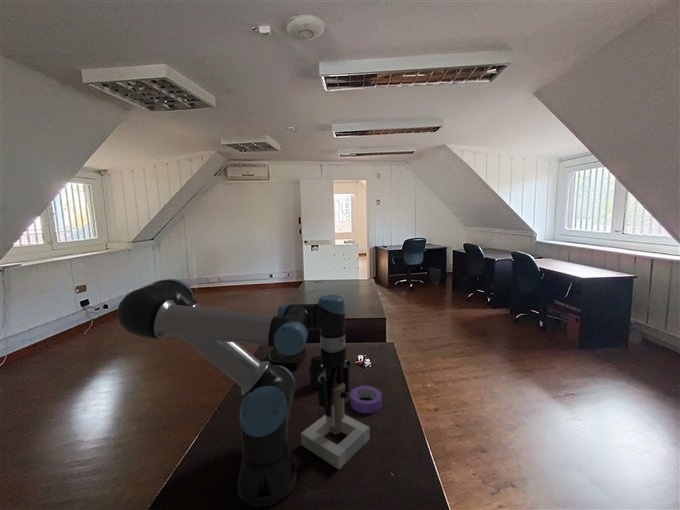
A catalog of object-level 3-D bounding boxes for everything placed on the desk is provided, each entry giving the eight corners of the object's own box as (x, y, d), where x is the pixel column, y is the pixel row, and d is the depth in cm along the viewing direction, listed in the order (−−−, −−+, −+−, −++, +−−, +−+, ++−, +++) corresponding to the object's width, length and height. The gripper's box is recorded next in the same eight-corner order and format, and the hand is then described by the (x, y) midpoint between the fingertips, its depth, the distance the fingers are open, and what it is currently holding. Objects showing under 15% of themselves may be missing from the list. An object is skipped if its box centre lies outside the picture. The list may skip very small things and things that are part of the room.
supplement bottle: (319, 391, 122) (318, 363, 121) (305, 387, 126) (304, 359, 125) (328, 383, 128) (328, 356, 127) (315, 379, 132) (314, 352, 130)
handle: (345, 437, 91) (344, 390, 90) (324, 436, 92) (322, 389, 90) (347, 426, 96) (345, 381, 94) (327, 425, 97) (325, 380, 95)
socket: (339, 469, 84) (338, 456, 84) (301, 445, 94) (300, 433, 93) (369, 438, 96) (369, 426, 95) (333, 419, 105) (333, 408, 105)
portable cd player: (273, 354, 159) (273, 346, 158) (305, 355, 156) (305, 348, 156) (261, 369, 143) (260, 361, 142) (296, 371, 140) (296, 363, 140)
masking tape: (388, 403, 114) (387, 393, 114) (368, 418, 106) (368, 407, 105) (363, 391, 122) (363, 382, 122) (343, 404, 114) (343, 395, 113)
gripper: (323, 361, 82) (326, 441, 85) (360, 341, 95) (361, 411, 98) (303, 354, 87) (307, 430, 90) (341, 335, 100) (343, 402, 103)
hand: (335, 420), depth 94 cm, fingers closed on handle, 4 cm apart
